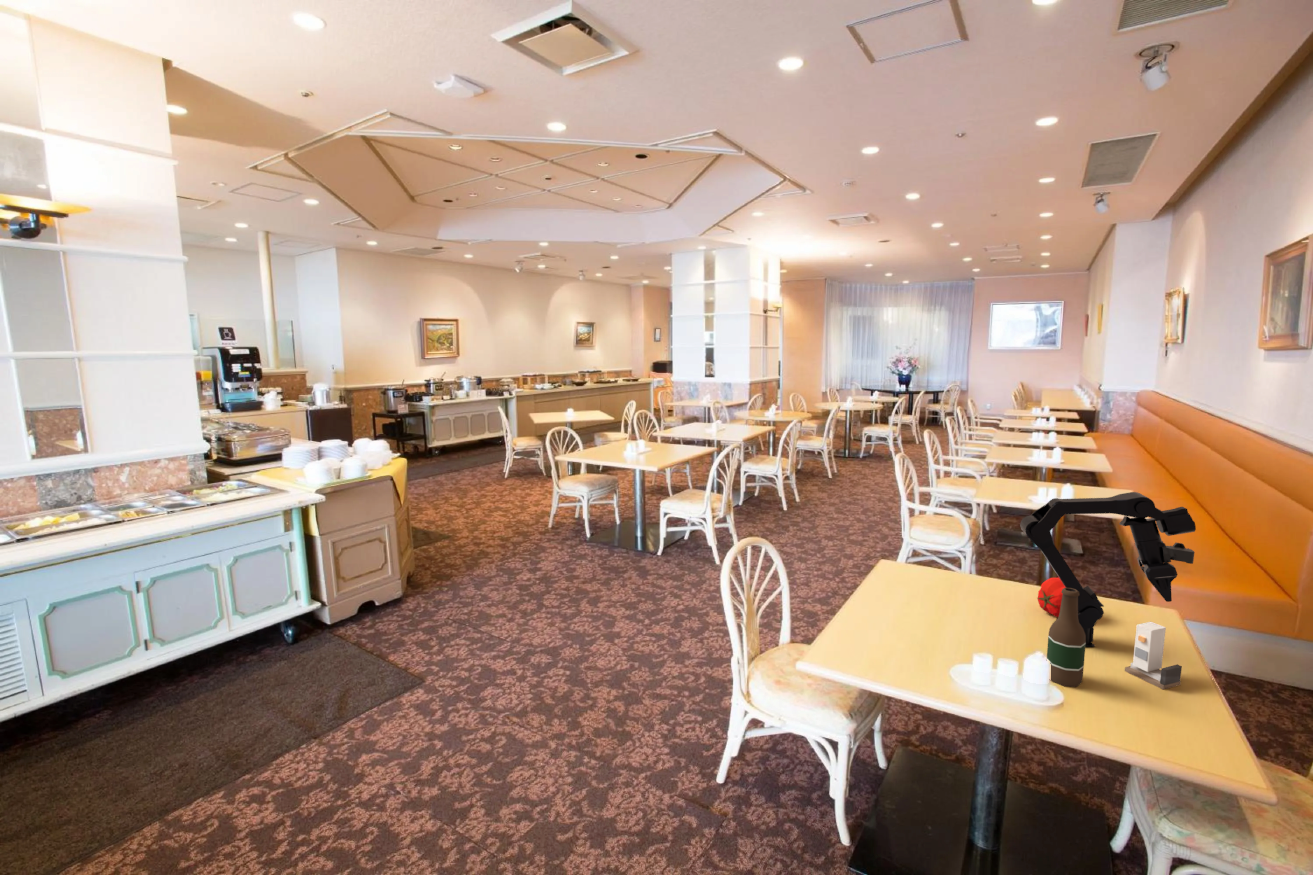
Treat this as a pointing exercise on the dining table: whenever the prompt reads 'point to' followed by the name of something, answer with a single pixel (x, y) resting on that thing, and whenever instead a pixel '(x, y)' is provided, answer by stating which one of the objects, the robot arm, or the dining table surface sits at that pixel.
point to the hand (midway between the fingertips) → (1166, 597)
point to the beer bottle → (1067, 643)
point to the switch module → (1149, 646)
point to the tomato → (1051, 596)
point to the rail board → (1158, 675)
